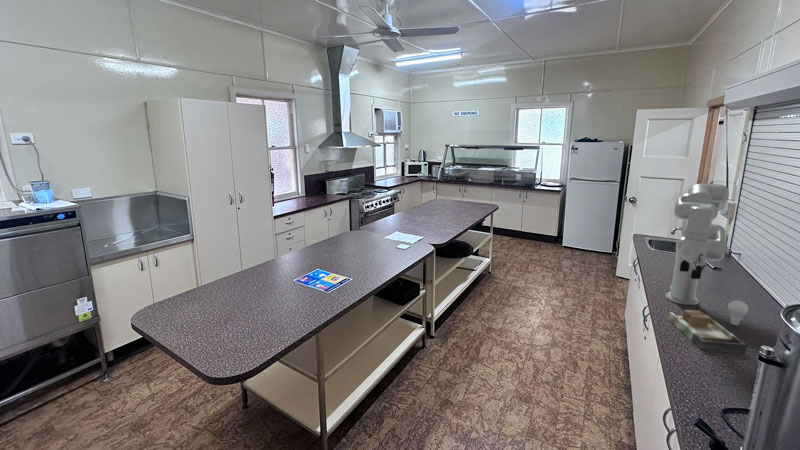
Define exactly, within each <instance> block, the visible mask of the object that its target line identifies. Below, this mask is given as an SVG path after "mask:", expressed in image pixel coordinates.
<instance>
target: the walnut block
mask: <svg viewBox="0 0 800 450" xmlns="http://www.w3.org/2000/svg"><path fill="white" fill-rule="evenodd" d="M706 315H707V314H705V313H703V312H702V311H701V310H694V309H693V310H692V309H683V313H682V316H683V317H682V318H683V319H684V320H685V321H686V322H687V323H688V324H689V325H691V326H705V327H707V326H708V321H709V317H710V316H709V317H707V316H706Z"/></svg>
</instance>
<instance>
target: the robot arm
mask: <svg viewBox="0 0 800 450" xmlns="http://www.w3.org/2000/svg"><path fill="white" fill-rule="evenodd" d="M729 194H730V193H729V188H728V187H727V186H726V185H724V184H716V183H715V184H712V183H696V184H694V185H692V186H690V187H689V189H688V191H687V193H684V194H682V195H681V196H680V197H678V199H677V200H676V202H675V206H674V216H675V218H677V219H679V220H682V222H681V223H682V224H681V237H679V238H678V239H677V240H676V244H675V262H674V269H673V274H672V280H671V285H669V289H670V291H668V292H666V293H665V298H666V299H667V300H669V301H671V302H673V303H677V304H680V305H686V306H696V305H698V304H699V299H698V298H697V297H696V294H697V289H698V284H699V280H700V279H701V276H702V271H703V270H704V269H705V267H706V266H707V262H706V260H707V261H715V262H716V261H722V260H723V259H724V258H725V255H726V248H727V247H726V244H727V243H726V242H727V239H726V238H727V237H726V235H727V233H726V230H725V227H724V226H722V225H720V224H713V223H712V222H713V221H714V220H715V219H716V218H717V216H718V214H719V212H721V211H722V210H723V209H724V208H725V206H726V203H727V201H728V199H729V197H730V196H729Z"/></svg>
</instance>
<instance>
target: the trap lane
mask: <svg viewBox="0 0 800 450" xmlns="http://www.w3.org/2000/svg"><path fill="white" fill-rule="evenodd" d="M705 315H706V316H707V317H709V321H708V326H707V327H705V326H691V325H689V324H688V323H687V322H686V321H685V320H684V319H683V318H682V317H683V315H676V313H674V312H669V315H668V320H669V321H670V322H671V323H672V324H673V325H674V326H675V327H676V328H677V329H678V330H679V331H680V332H681V333H683V334H684V335H685V336H686V337H687V338H688V339H689V341H691V342H692V343H693V344H694V346H696V347H698V349H700V350H701V351H708V352H709V351H710V352H723V353H733V354H746V350H747V347H748V345H747V344H746V343H745V342H744V341H742V340H741V339H740V338H738V337H737V336H735V334H733V333H732V332H730V331H729V330H728V329H726V328H725V327H724V326H722V325H721V324H720V323H718V322H717V321H716V320H715V319H713V318H712V317H711V316H709V315H708V314H705Z"/></svg>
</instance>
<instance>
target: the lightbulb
mask: <svg viewBox="0 0 800 450" xmlns="http://www.w3.org/2000/svg"><path fill="white" fill-rule="evenodd" d="M727 309H728V311H729V314H730V324H731V325H732V326H738V325H740V323H741V320H742V318H743V317H744V316H745V315H747V314H748V312H749V307H748V305H747V304H746V303H745V302H744V301H741V300H731V301H730V302H729V303H728V305H727Z"/></svg>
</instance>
